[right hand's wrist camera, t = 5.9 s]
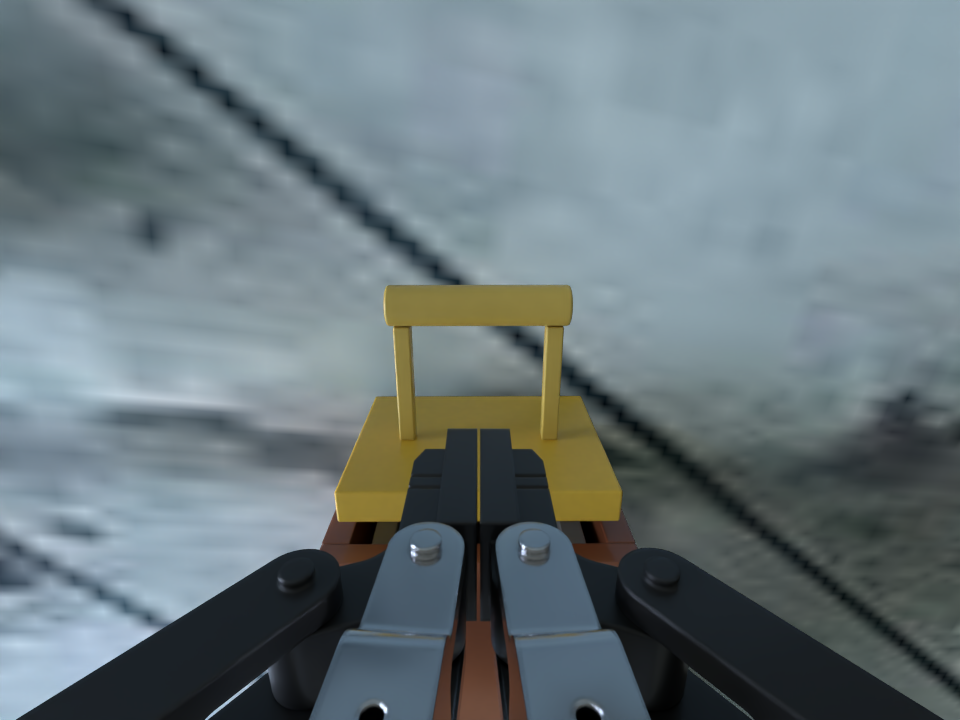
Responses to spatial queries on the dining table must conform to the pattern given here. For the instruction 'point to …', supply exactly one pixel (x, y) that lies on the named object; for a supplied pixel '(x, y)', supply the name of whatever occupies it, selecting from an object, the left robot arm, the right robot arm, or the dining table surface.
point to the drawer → (478, 412)
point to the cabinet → (479, 678)
